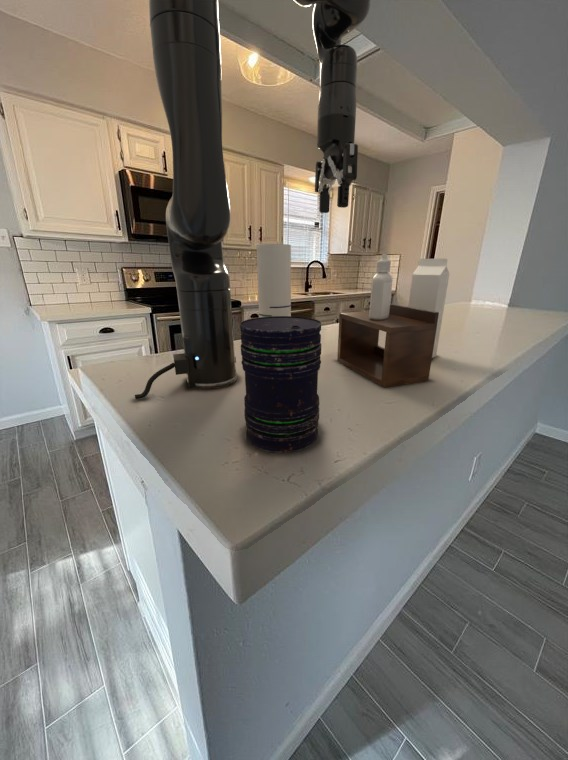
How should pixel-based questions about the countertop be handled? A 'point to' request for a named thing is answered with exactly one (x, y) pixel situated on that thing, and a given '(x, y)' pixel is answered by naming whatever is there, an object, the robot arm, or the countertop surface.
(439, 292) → the milk
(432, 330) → the spice rack
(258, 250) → the cylindrical container
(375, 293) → the eye dropper bottle
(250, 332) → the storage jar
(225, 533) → the countertop surface
